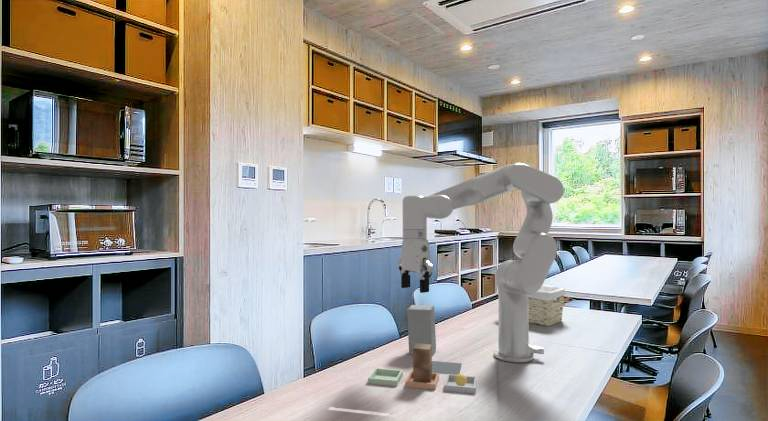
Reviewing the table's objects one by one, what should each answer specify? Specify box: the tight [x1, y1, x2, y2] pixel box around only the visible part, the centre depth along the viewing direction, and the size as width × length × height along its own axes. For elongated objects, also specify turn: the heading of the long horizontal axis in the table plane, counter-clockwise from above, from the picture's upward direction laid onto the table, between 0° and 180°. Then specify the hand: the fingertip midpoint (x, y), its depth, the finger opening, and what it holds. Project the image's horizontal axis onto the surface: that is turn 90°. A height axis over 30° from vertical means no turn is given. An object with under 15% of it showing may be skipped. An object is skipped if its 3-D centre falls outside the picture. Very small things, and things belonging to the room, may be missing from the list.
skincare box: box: [406, 304, 437, 356], centre depth 151 cm, size 8×7×16 cm
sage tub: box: [367, 367, 404, 387], centre depth 126 cm, size 8×8×2 cm
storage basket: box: [527, 284, 566, 327], centre depth 196 cm, size 24×16×15 cm
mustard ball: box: [455, 373, 467, 386], centre depth 121 cm, size 3×3×3 cm
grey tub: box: [443, 374, 478, 395], centre depth 121 cm, size 8×8×2 cm
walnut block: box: [412, 344, 433, 383], centre depth 123 cm, size 4×4×10 cm
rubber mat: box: [432, 360, 463, 375], centre depth 135 cm, size 10×10×1 cm
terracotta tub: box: [404, 370, 440, 390], centre depth 123 cm, size 8×8×2 cm
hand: (414, 289), depth 139 cm, fingers open, 9 cm apart
